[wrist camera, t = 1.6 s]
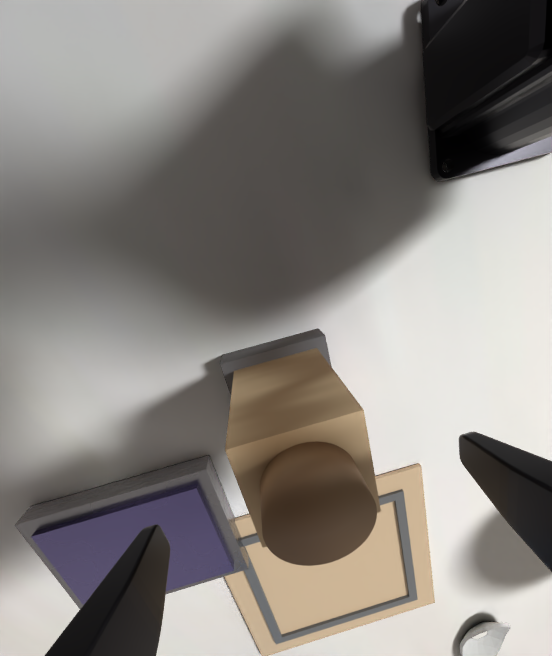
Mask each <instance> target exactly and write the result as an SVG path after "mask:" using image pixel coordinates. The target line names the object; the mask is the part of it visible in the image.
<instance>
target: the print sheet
mask: <svg viewBox="0 0 552 656" xmlns="http://www.w3.org/2000/svg"><path fill="white" fill-rule="evenodd" d="M375 480H376V485H377V491H378V497H379V503H380V509H381V512H379V513H377V518H376V523H375V526H374V528H373V530H372V532H371V534H370V535H369V537H368V538H367V539H366V541H365V542H364V543H363V544H362V545H361V546H360V547H358V548H357V549H356V550H355V551H353V552H352V553H350V554H349V555H347V556H345V557H343V558H341V559H339V560H336V561H334V562H331V563H327V564H322V565H315V566H302V565H295V564H291V563H288V562H285V561H283V560H281V559H279V558H278V557H276V556H275V555H274V554H273V553H272V552H271V551H270V550H269V549H268V547H264V548H263V547H262V545H261V542H260V540H259V537H258V534H257V532H256V529H255V527H254V524H253V521H252V519H251V516H250V514H248V515H244V516H241V517H238V518H235V523H236V526H237V528H238V530H239V533H240V535H241V541H242V543H243V545H244V548H245V550H246V553H247V555H248V569H247V570H244V571H240V572H237V573H234V574H231V575H227V576H224V577H225V579H226V581H227V583H228V585H229V587H230V589H231V592H232V594H233V596H234V598H235V600H236V602H237V604H238V606H239V608H240V611H241V613H242V615H243V617H244V619H245V621H246V623H247V625H248V627H249V630H250V632H251V634H252V636H253V638H254V640H255V642H256V644H257V646H258V649H259V651H260V653H261V655H262V656H268V655H271V654H275V653H278V652H281V651H284V650H287V649H290V648H293V647H297V646H300V645H303V644H306V643H309V642H312V641H315V640H319V639H322V638H325V637H328V636H331V635H334V634H337V633H341V632H344V631H347V630H350V629H353V628H356V627H359V626H363V625H366V624H369V623H372V622H375V621H378V620H381V619H385V618H388V617H391V616H394V615H397V614H400V613H403V612H407V611H410V610H413V609H416V608H419V607H422V606H425V605H429V604H432V603H435V600H434V590H433V580H432V570H431V560H430V550H429V540H428V530H427V520H426V509H425V499H424V489H423V479H422V469H421V465H420V464H416V465H412V466H409V467H405V468H402V469H399V470H395V471H392V472H389V473H385V474H382V475H379V476H375Z"/></svg>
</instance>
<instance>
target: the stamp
mask: <svg viewBox="0 0 552 656" xmlns="http://www.w3.org/2000/svg"><path fill="white" fill-rule="evenodd" d="M220 365H221V368H222V371H223V374H224V377H225V380H226V383H227V385H228V388H229V391H230V394H231V402H230V410H229V419H228V428H227V437H226V446H225V451H226V454H227V456H228V459H229V462H230V464H231V467H232V469H233V472H234V475H235V477H236V480H237V482H238V485H239V488H240V490H241V493H242V495H243V498H244V501H245V503H246V506H247V508H248V511H249V514H250V516H251V519H252V521H253V524H254V527H255V529H256V532H257V534H258V537H259V540H260V542H261V545H262V547H263V548H264V547H268V549H269V550H270V551H271V552H272V553H273V554H274V555H275V556H276V557H278V558H279V559H281V560H283V561H285V562H288V563H291V564H295V565H302V566H315V565H322V564H327V563H331V562H334V561H336V560H339V559H341V558H343V557H345V556H347V555H349V554H350V553H352V552H353V551H355V550H356V549H357V548H358V547H360V546H361V545H362V544H363V543H364V542H365V541H366V539H367V538H368V537H369V535H370V534H371V532H372V530H373V528H374V526H375V523H376V518H377V513H379V512H381V509H380V503H379V497H378V491H377V485H376V480H375V474H374V468H373V462H372V456H371V451H370V445H369V439H368V433H367V427H366V421H365V416H364V410H363V409H362V407H361V406H360V405H359V403H358V402H357V401H356V399H355V398H354V397H353V395H352V394H351V393H350V391H349V390H348V389H347V387H346V386H345V385H344V383H343V382H342V381H341V379H340V378H339V377H338V375H337V374H336V373H335V371H334V370H333V369H332V367H331V362H330V357H329V353H328V348H327V343H326V338H325V335H324V334H323V333H322V332H321V331H320V330H319V329H314V330H311V331H307V332H303V333H300V334H296V335H293V336H289V337H285V338H282V339H278V340H274V341H271V342H267V343H264V344H260V345H256V346H253V347H249V348H245V349H242V350H238V351H235V352H231V353H227V354H224V355H222V359H221V363H220Z"/></svg>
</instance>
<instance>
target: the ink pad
mask: <svg viewBox="0 0 552 656" xmlns="http://www.w3.org/2000/svg"><path fill="white" fill-rule="evenodd" d="M155 524H158V525H160V527H161V528H162V530H163V532H164V534H165V536H166V538H167V539H168V541H169V544H170V559H169V568H168V577H167V585H166V594H168V593H172V592H175V591H178V590H181V589H185V588H188V587H191V586H195V585H198V584H201V583H204V582H208V581H211V580H214V579H217V578H221V577H224V576H227V575H231V574H234V573H237V572H240V571H244V570H247V569H248V555H247V553H246V550H245V548H244V545H243V543H242V541H241V535H240V533H239V530H238V528H237V526H236V523H235V517H234V515H233V512H232V510H231V507H230V505H229V503H228V500H227V498H226V495H225V493H224V490H223V488H222V486H221V483H220V481H219V478H218V476H217V473H216V471H215V469H214V466H213V464H212V461H211V459H210V456H209V455H208V456H204V457H201V458H197V459H194V460H190V461H187V462H184V463H180V464H177V465H173V466H170V467H166V468H163V469H159V470H156V471H152V472H149V473H145V474H142V475H138V476H135V477H132V478H128V479H125V480H121V481H118V482H114V483H111V484H107V485H104V486H100V487H97V488H93V489H90V490H86V491H83V492H80V493H76V494H73V495H69V496H66V497H62V498H59V499H55V500H52V501H48V502H45V503H41V504H38V505H35V506H31V507H30V508H29V509H28V510H27V511H26V513H25V514H24V515H23V516H22V517H21V518H20V520H19V521H18V522H17V523H16V524H15V526H16V528H17V529H18V530H19V531H20V533H21V534H22V535H23V537H24V538H25V539H26V540H27V542H28V543H29V544H30V546H31V547H32V548H33V549H34V551H35V552H36V553H37V555H38V556H39V557H40V558H41V560H42V561H43V562H44V564H45V565H46V566H47V567H48V569H49V570H50V571H51V573H52V574H53V575H54V576H55V578H56V579H57V580H58V581H59V583H60V584H61V585H62V587H63V588H64V589H65V590H66V592H67V593H68V594H69V596H70V597H71V598H72V599H73V601H74V602H75V603H76V605H77V606H78V607H79V608H80V609H81V608H82V607H83V605H84V604H85V603H86V601H87V600H88V599H89V597H90V596H91V595H92V594H93V592H94V591H95V590H96V588H97V587H98V586H99V584H100V583H101V582H102V581H103V579H104V578H105V577H106V575H107V574H108V573H109V571H110V570H111V569H112V568H113V566H114V565H115V564H116V562H117V561H118V560H119V558H120V557H121V556H122V555H123V553H124V552H125V551H126V549H127V548H128V547H129V545H130V544H131V543H132V542H133V540H134V539H135V538H136V536H137V535H138V534H139V532H140V531H141V530H142V529H143V528H145V527H148V526H152V525H155Z"/></svg>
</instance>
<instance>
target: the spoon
mask: <svg viewBox="0 0 552 656" xmlns="http://www.w3.org/2000/svg"><path fill="white" fill-rule="evenodd" d="M509 629H510V626H509V623H498V622H483V623H480V624H478V625H476V626H474V627H473V628H471V629H470V630H469V631H468V632H467V633H466V635H465V637H464V638H463V640H462V642H461V643H460V653H461V655H462V656H496V655H497V654H498V652H499V650H500V648H501V645H502V643H503V641H504V638H505V636H506V634H507V632H508V631H509ZM485 631H487V635H486V636H484V637H482V638H479V639H474V638H472V637H474V636H476V635H478V634H480V633H483V632H485Z"/></svg>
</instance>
